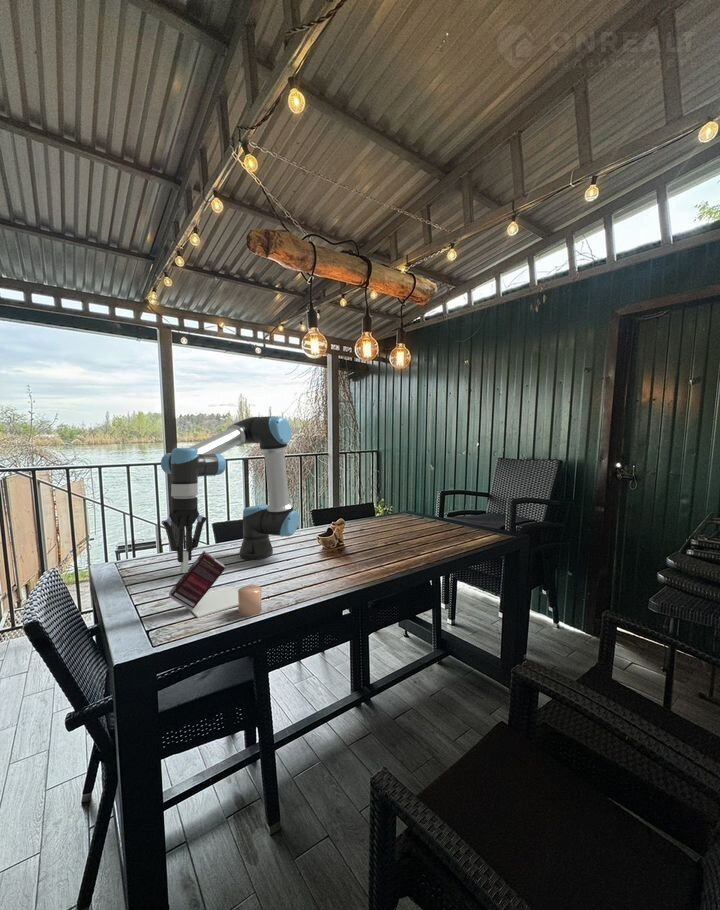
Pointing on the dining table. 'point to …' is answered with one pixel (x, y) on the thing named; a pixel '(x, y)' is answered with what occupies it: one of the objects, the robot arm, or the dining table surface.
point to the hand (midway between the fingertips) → (184, 571)
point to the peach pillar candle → (249, 600)
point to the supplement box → (197, 581)
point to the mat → (216, 602)
